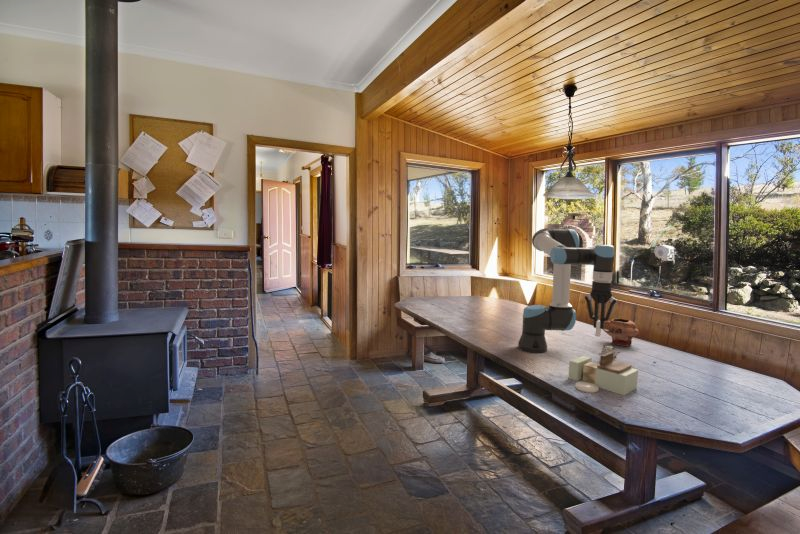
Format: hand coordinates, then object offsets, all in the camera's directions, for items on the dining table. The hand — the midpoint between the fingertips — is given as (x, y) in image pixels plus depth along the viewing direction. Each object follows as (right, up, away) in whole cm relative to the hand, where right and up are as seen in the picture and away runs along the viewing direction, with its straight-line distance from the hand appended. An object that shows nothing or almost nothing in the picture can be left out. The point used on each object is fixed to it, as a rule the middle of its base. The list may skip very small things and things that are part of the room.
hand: (598, 335), depth 193 cm
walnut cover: (+5, -13, -5) cm, 14 cm away
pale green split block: (+2, -20, 0) cm, 21 cm away
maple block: (-1, -20, +3) cm, 20 cm away
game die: (+19, -18, +30) cm, 40 cm away
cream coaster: (-7, -21, -6) cm, 23 cm away
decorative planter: (+39, -14, +62) cm, 75 cm away
